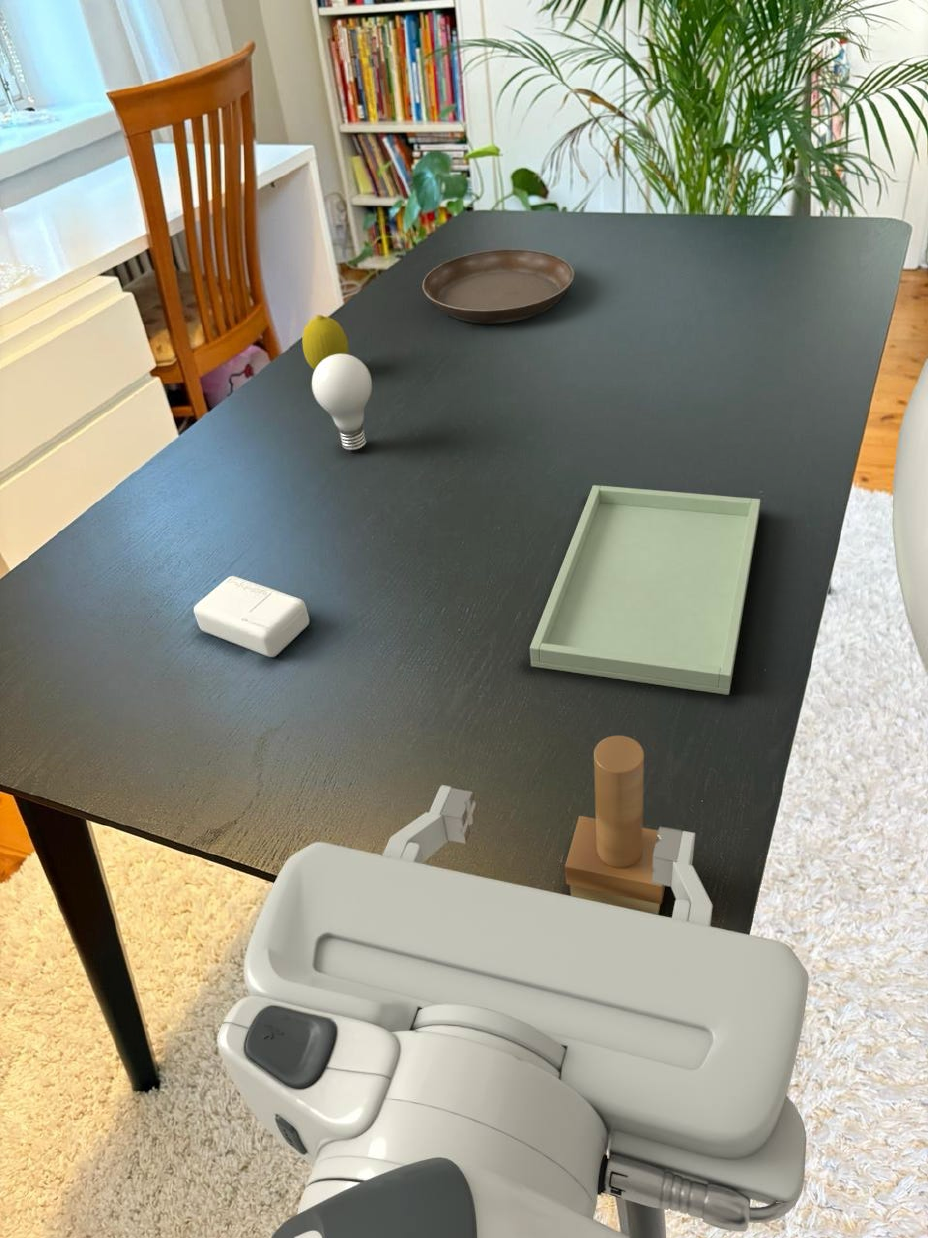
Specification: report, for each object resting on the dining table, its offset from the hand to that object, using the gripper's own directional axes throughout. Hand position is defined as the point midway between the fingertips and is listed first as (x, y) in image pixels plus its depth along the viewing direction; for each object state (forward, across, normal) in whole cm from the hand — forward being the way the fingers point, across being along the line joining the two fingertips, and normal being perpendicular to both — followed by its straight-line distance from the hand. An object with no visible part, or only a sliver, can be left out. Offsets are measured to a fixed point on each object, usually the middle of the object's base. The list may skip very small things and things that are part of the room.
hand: (565, 816), depth 41 cm
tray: (+41, +3, +21) cm, 46 cm away
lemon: (+75, +49, +21) cm, 92 cm away
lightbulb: (+59, +39, +21) cm, 74 cm away
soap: (+29, +36, +21) cm, 51 cm away
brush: (+11, 0, +21) cm, 24 cm away
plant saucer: (+99, +34, +21) cm, 107 cm away
